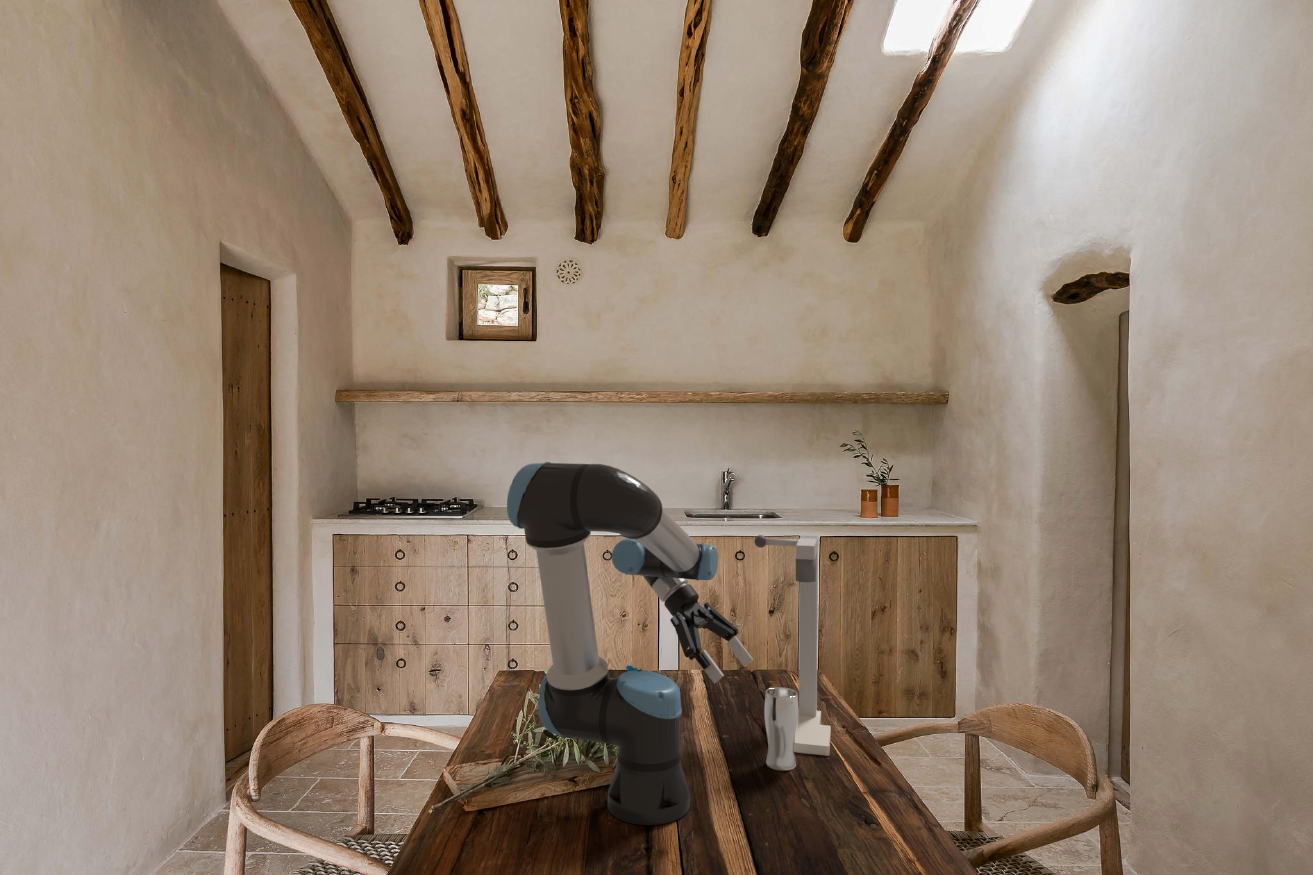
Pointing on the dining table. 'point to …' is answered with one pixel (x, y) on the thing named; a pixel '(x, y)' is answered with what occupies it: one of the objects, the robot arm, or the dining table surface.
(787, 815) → the dining table surface
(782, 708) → the beer glass
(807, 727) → the stand
